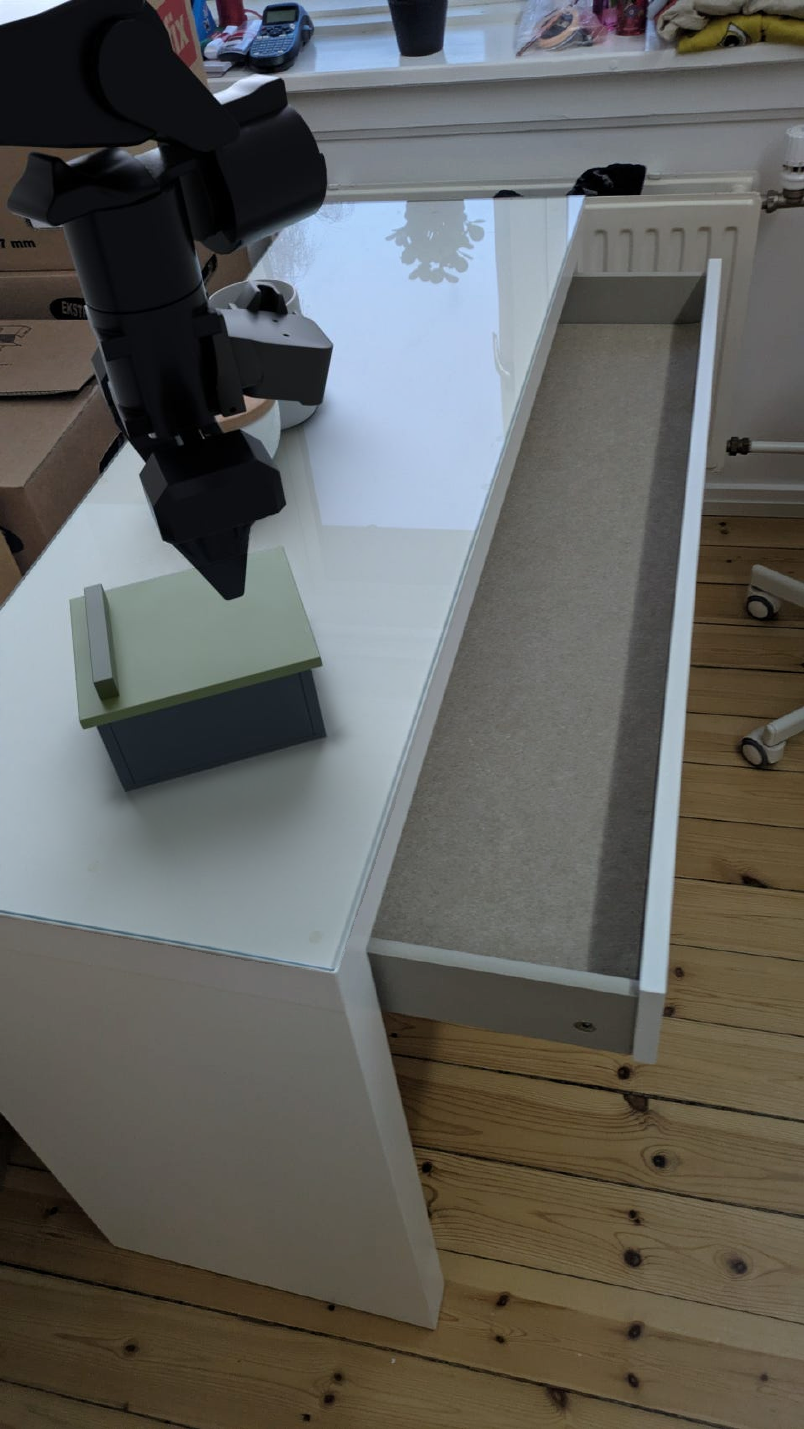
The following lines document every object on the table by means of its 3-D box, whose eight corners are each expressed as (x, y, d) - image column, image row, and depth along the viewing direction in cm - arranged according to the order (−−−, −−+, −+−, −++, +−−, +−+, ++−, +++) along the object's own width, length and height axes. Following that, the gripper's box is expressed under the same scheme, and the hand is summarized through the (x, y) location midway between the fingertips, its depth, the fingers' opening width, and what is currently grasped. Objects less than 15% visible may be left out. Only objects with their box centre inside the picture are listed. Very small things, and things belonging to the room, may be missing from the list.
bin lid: (83, 730, 66) (70, 703, 64) (72, 608, 75) (61, 581, 73) (322, 666, 68) (316, 638, 66) (284, 554, 77) (278, 527, 75)
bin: (124, 792, 71) (94, 721, 66) (111, 679, 79) (83, 610, 75) (327, 736, 73) (310, 664, 68) (293, 631, 81) (276, 560, 76)
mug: (316, 427, 102) (295, 313, 94) (226, 437, 102) (198, 325, 95) (320, 366, 110) (301, 257, 103) (237, 376, 111) (212, 268, 103)
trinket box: (301, 437, 101) (281, 340, 94) (280, 503, 93) (258, 403, 87) (189, 442, 102) (163, 348, 96) (160, 508, 95) (129, 410, 88)
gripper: (365, 317, 48) (401, 600, 58) (251, 195, 61) (298, 445, 71) (115, 383, 46) (200, 664, 56) (53, 242, 59) (132, 492, 69)
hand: (214, 554), depth 63 cm, fingers open, 9 cm apart
